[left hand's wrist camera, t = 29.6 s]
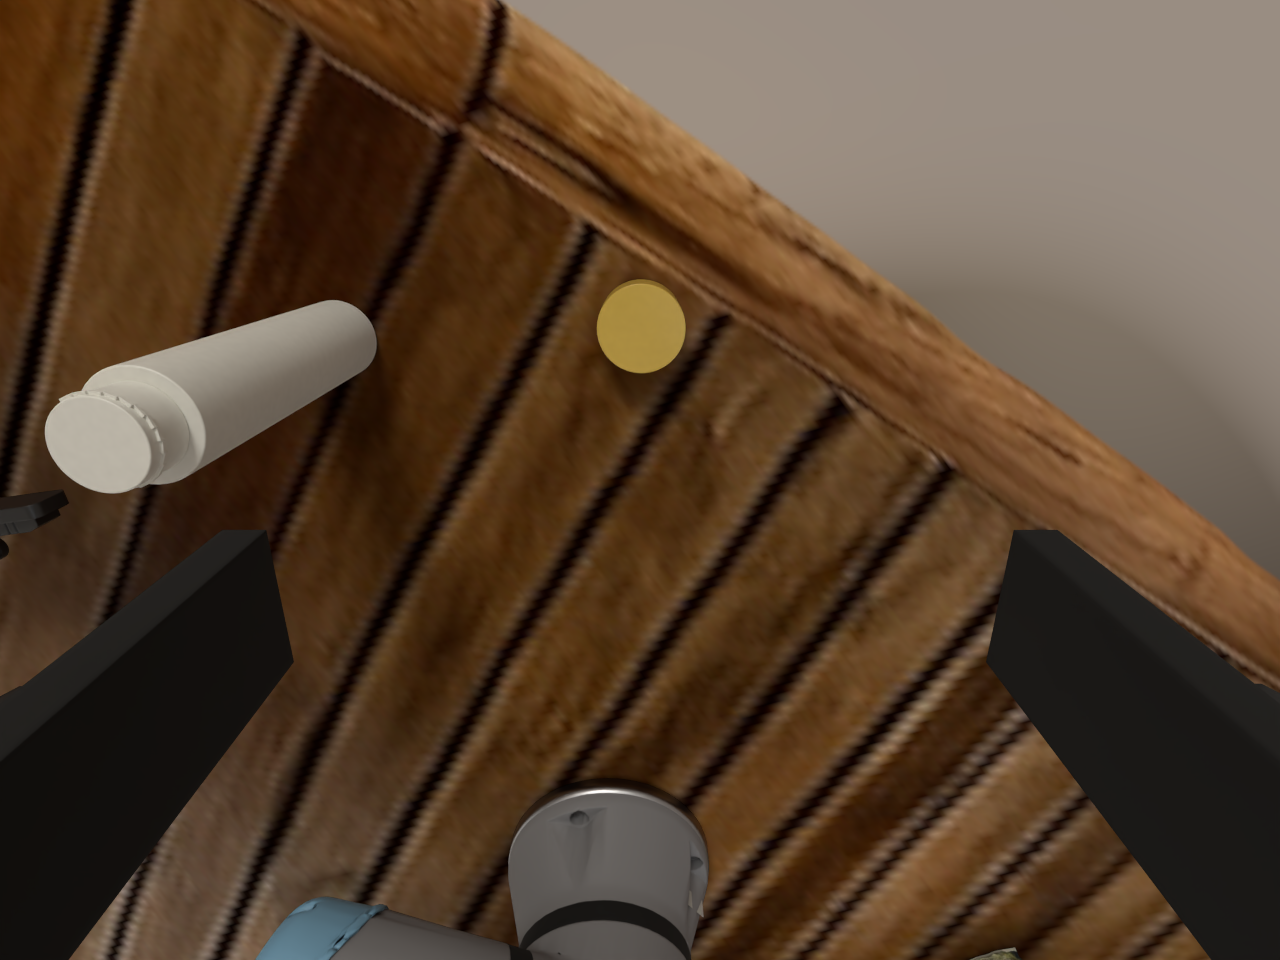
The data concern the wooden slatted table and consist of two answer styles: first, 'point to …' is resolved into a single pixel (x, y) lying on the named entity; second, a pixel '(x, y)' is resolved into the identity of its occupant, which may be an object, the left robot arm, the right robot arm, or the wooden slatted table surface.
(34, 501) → the right robot arm
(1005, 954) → the fossil
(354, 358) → the white bottle
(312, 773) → the wooden slatted table surface
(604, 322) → the lid
